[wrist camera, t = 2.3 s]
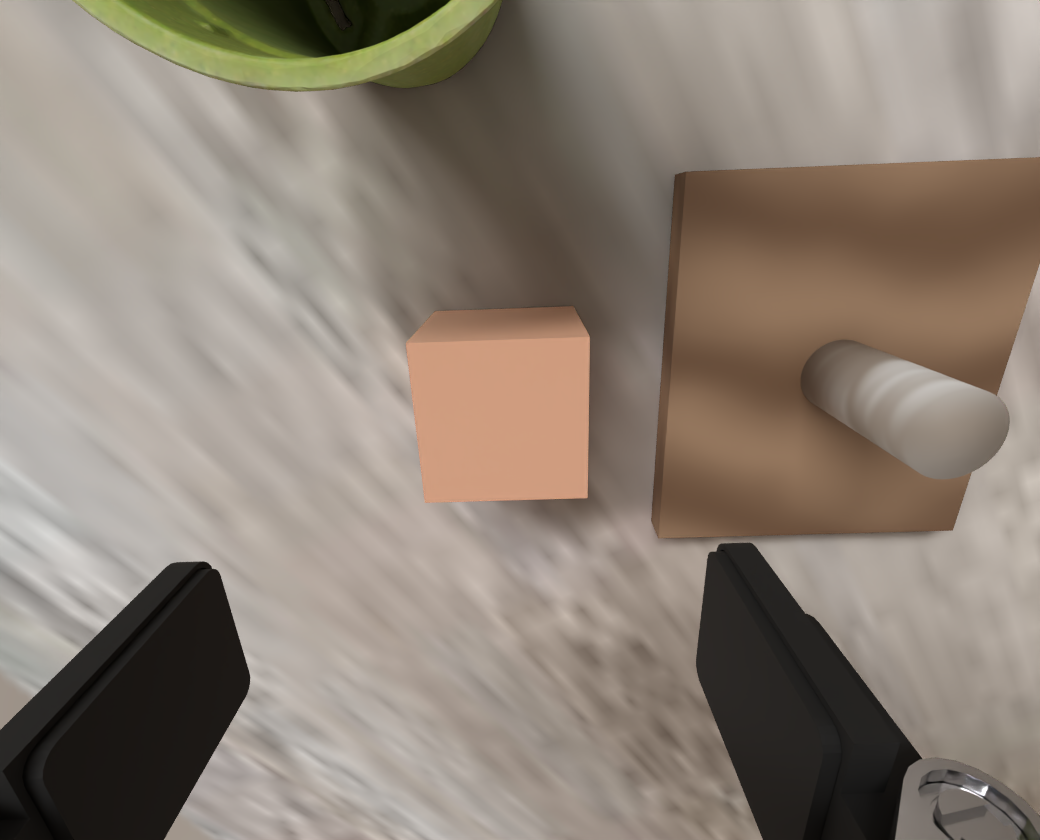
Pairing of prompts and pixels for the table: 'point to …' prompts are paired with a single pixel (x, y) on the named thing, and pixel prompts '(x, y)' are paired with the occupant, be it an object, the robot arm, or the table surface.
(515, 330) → the salmon orange cube
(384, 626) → the table surface
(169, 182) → the table surface
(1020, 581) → the table surface
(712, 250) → the post board
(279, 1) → the plant pot
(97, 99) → the table surface
